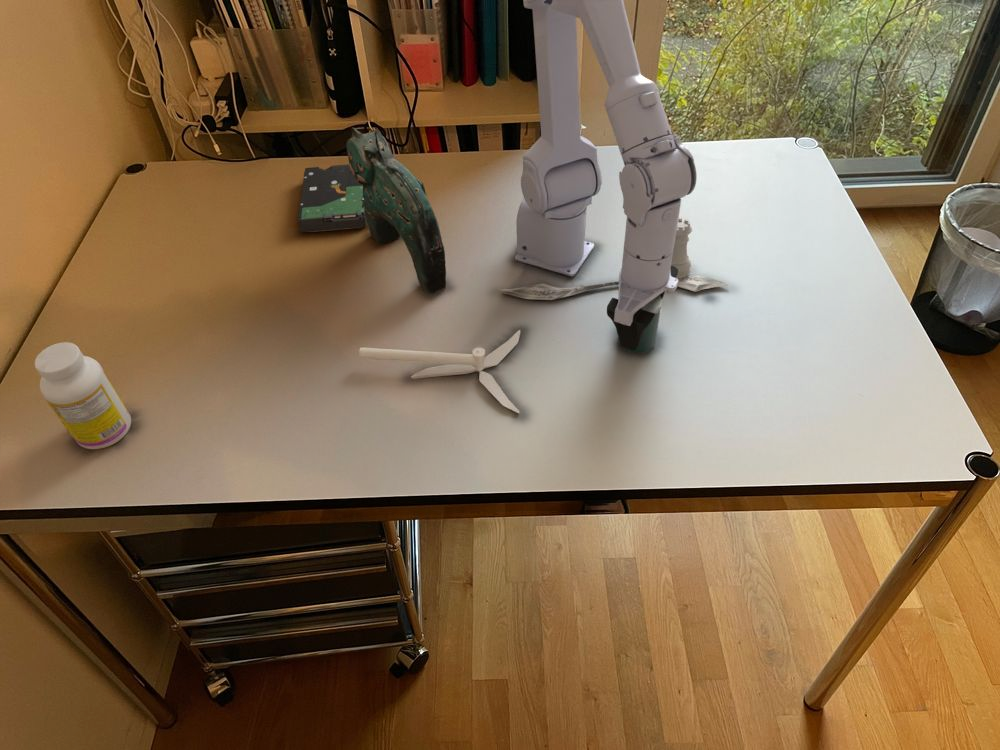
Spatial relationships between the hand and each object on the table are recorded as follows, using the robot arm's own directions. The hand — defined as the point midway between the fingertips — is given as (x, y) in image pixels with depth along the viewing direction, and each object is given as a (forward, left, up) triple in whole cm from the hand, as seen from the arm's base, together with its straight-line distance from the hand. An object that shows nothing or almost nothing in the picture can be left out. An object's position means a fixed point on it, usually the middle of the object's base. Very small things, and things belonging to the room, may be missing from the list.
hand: (637, 330), depth 100 cm
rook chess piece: (0, +15, -2) cm, 15 cm away
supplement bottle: (-53, -42, -2) cm, 67 cm away
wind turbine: (-21, -15, -2) cm, 25 cm away
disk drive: (-55, +9, -2) cm, 55 cm away
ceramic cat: (-37, +2, -2) cm, 37 cm away
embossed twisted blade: (-7, +8, -2) cm, 10 cm away
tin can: (0, 0, -2) cm, 2 cm away
